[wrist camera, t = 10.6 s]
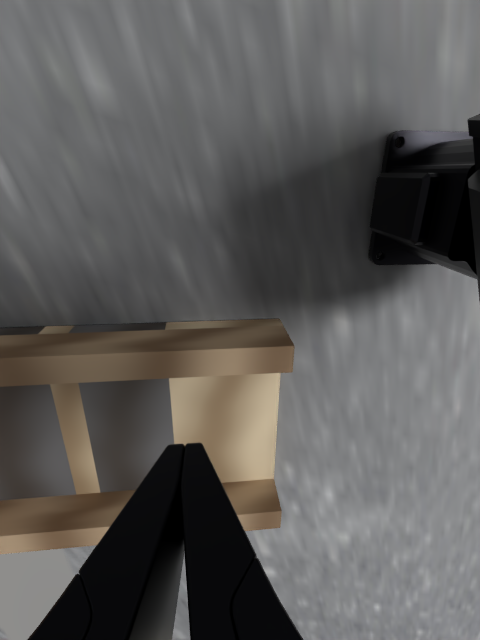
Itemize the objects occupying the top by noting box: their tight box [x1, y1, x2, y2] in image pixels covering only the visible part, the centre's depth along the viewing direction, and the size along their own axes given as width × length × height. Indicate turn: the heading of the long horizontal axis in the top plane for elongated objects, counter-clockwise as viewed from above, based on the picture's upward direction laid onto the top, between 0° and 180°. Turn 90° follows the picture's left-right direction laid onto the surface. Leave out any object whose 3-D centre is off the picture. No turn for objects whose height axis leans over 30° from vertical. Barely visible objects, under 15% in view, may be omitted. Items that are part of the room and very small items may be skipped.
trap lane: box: [0, 319, 294, 554], centre depth 20 cm, size 27×13×4 cm, turn 89°
